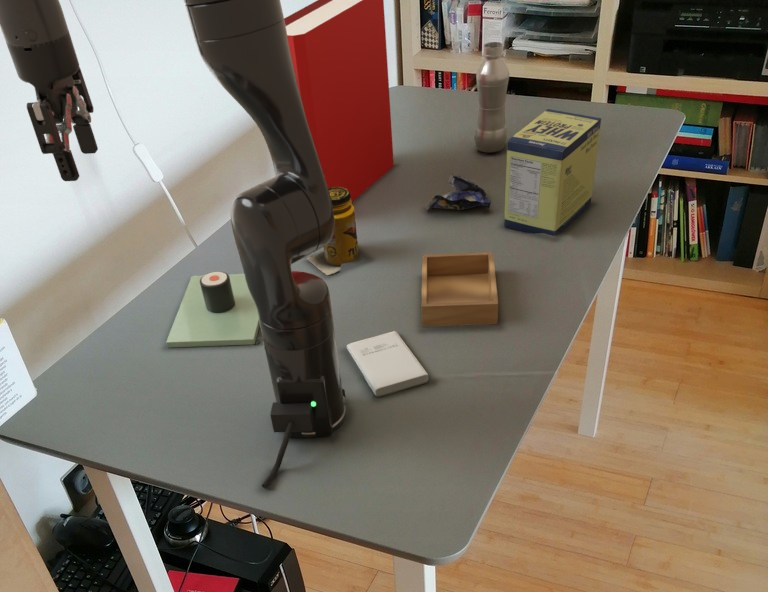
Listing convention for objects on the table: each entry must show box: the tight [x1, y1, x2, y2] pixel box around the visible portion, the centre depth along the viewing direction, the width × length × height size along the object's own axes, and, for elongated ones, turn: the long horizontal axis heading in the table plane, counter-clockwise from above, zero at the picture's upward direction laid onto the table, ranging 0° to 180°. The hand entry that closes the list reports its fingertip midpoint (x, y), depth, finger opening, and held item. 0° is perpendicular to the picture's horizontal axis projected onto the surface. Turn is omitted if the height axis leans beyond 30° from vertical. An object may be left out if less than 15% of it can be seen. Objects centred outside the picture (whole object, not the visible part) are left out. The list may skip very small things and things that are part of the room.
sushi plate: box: [165, 273, 260, 348], centre depth 135 cm, size 20×14×1 cm
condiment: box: [305, 187, 359, 276], centre depth 140 cm, size 7×8×12 cm
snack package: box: [424, 173, 492, 213], centre depth 153 cm, size 12×6×12 cm
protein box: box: [503, 108, 602, 237], centre depth 144 cm, size 10×16×16 cm
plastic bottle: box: [474, 41, 510, 153], centre depth 164 cm, size 6×7×20 cm
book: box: [284, 0, 395, 202], centre depth 151 cm, size 27×8×32 cm, turn 151°
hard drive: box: [346, 330, 429, 398], centre depth 121 cm, size 2×8×12 cm
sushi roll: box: [200, 271, 235, 313], centre depth 133 cm, size 5×5×5 cm
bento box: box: [420, 251, 499, 327], centre depth 130 cm, size 16×12×4 cm
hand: (81, 165), depth 110 cm, fingers open, 8 cm apart
